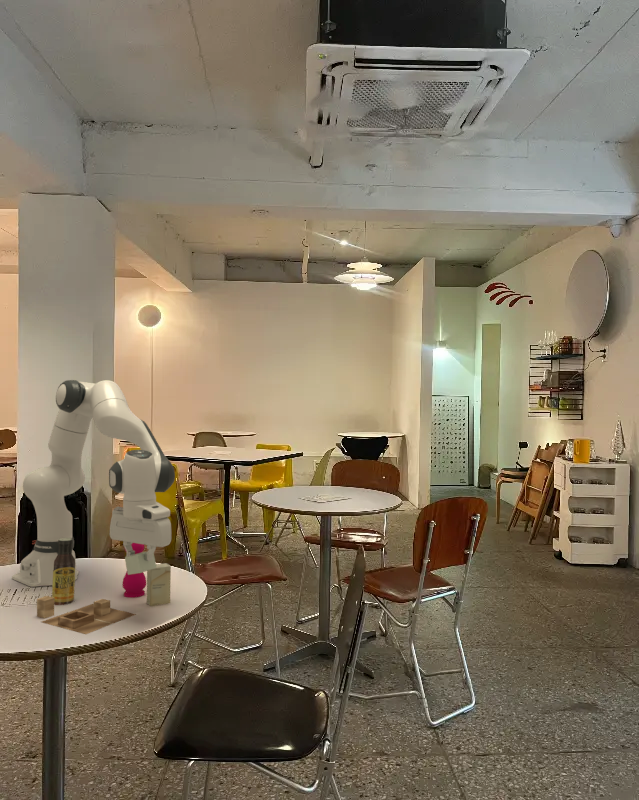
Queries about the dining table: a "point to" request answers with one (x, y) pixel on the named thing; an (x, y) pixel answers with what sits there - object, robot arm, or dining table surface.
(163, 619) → the dining table surface
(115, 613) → the board
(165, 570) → the skincare box
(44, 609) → the oak peg
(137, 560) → the housing
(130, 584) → the pepper mill
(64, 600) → the sauce bottle
